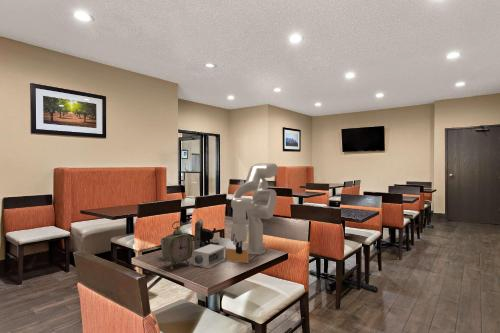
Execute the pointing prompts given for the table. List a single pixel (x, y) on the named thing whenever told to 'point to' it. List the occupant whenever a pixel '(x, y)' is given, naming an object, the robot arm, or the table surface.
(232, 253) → the side door
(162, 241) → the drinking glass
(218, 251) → the camera housing
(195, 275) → the table surface
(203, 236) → the vintage camera
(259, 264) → the table surface
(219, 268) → the table surface
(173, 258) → the tabletop clock
